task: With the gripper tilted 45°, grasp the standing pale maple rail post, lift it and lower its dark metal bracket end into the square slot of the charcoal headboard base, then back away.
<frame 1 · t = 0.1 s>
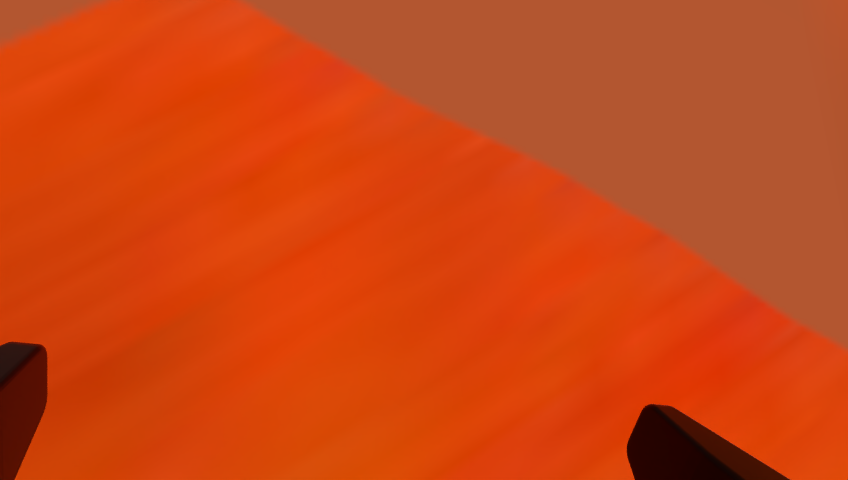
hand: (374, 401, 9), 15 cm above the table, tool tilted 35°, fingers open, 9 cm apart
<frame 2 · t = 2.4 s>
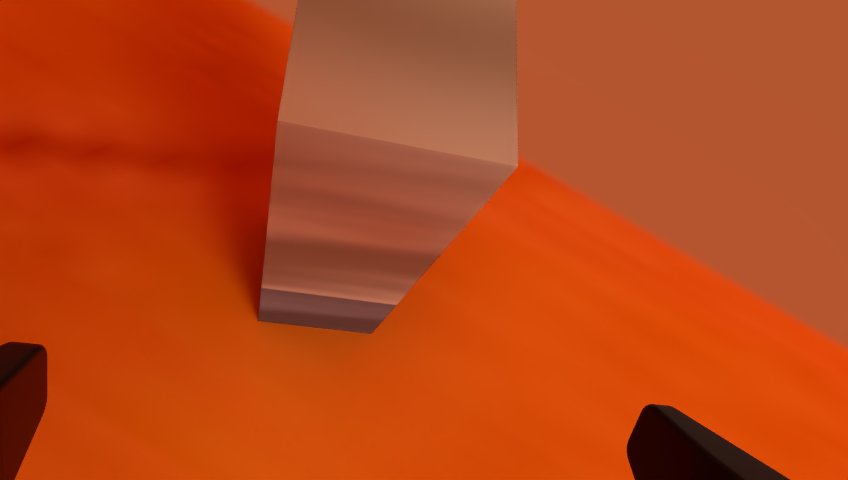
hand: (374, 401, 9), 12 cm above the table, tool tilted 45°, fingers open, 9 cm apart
rail post: (322, 274, 22), on the table
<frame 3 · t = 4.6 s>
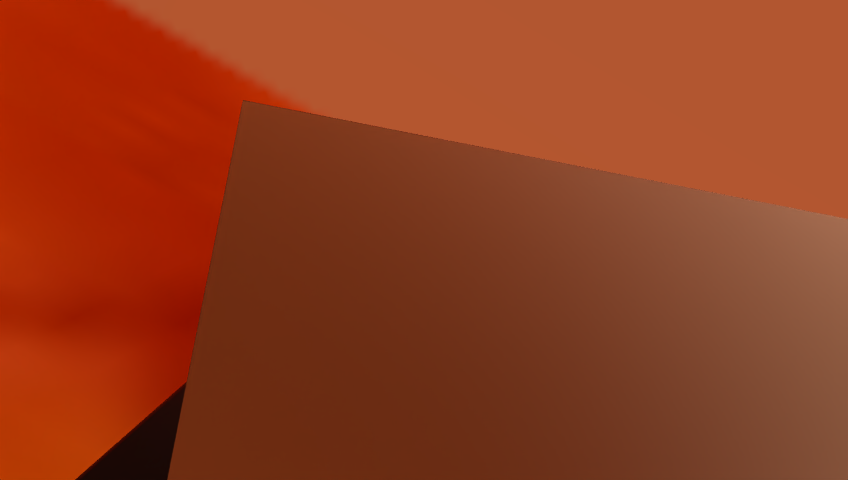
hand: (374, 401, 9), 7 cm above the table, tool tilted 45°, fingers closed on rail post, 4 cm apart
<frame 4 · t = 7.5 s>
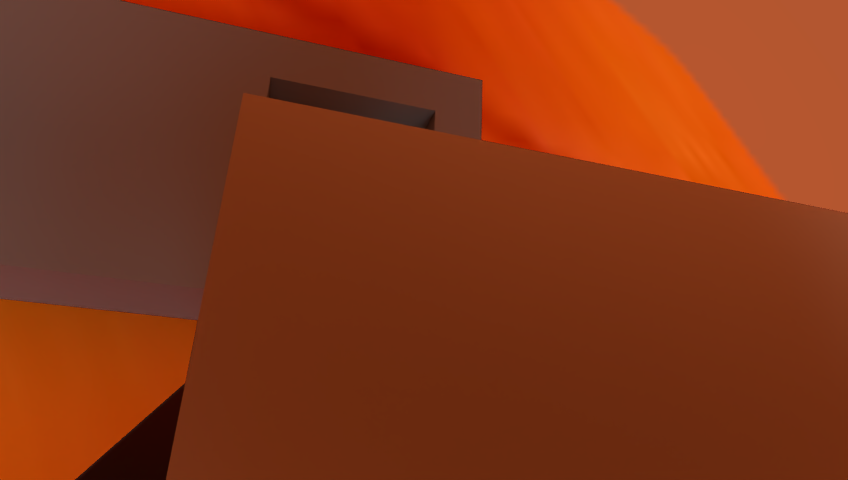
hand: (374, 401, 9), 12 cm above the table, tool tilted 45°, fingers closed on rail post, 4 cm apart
headboard base: (331, 216, 23), on the table
when the fingers open (9 cm above the table, at t = 10.3 s): rail post drops 1 cm, resting on headboard base.
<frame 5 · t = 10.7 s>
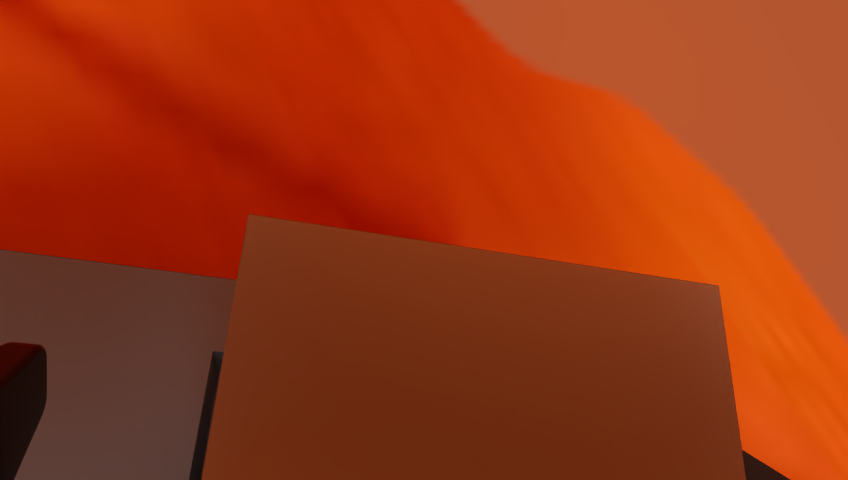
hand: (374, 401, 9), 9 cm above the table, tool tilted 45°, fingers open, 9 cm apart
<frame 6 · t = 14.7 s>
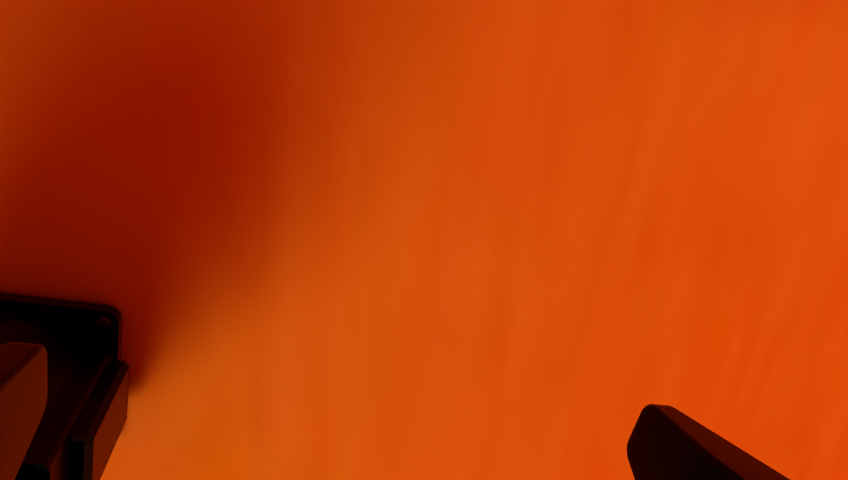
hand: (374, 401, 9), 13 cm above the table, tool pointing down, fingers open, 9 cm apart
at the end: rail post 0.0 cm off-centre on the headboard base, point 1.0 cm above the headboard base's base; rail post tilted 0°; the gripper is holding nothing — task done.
